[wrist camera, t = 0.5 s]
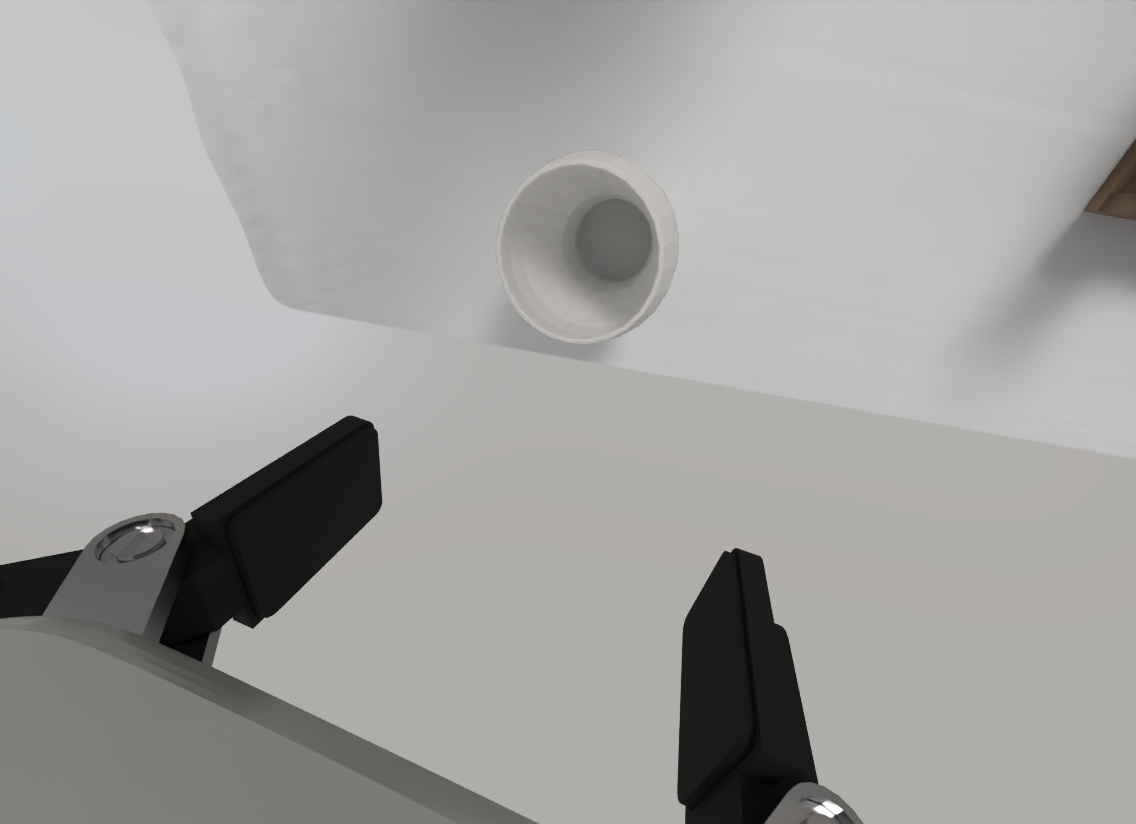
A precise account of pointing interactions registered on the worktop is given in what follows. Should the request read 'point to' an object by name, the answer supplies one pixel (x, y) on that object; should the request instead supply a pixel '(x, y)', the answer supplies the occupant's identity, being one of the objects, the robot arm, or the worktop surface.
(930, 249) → the worktop surface
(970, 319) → the worktop surface
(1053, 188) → the worktop surface
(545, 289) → the cup
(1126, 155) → the rack
